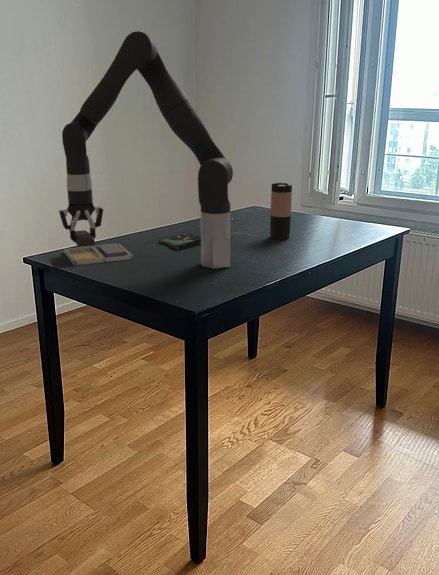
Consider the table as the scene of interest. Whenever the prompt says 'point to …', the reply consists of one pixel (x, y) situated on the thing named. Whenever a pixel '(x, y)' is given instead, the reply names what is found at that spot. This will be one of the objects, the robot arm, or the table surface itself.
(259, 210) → the table surface
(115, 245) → the blank panel
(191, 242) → the disk drive
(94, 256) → the tray
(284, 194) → the travel mug
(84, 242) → the usb drive
